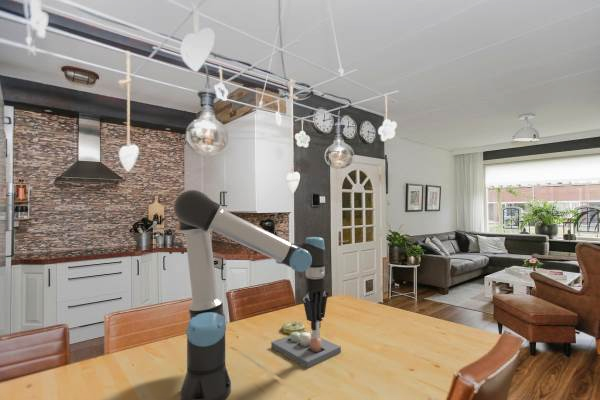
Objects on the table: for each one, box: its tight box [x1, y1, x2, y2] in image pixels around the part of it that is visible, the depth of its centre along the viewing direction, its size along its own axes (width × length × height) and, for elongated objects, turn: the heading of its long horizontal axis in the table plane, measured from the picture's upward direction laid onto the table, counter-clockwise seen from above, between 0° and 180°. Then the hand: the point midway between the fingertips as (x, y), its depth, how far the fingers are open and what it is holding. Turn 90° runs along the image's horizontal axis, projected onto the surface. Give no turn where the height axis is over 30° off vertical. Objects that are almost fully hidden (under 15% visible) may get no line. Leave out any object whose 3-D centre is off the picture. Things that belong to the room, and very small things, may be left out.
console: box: [271, 329, 342, 369], centre depth 125 cm, size 18×22×3 cm
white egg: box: [300, 331, 312, 347], centre depth 125 cm, size 4×4×4 cm
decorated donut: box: [281, 320, 306, 335], centre depth 145 cm, size 10×11×4 cm
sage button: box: [290, 332, 300, 344], centre depth 129 cm, size 4×4×4 cm
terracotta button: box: [310, 337, 322, 352], centre depth 121 cm, size 4×4×4 cm
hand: (316, 337), depth 121 cm, fingers closed
